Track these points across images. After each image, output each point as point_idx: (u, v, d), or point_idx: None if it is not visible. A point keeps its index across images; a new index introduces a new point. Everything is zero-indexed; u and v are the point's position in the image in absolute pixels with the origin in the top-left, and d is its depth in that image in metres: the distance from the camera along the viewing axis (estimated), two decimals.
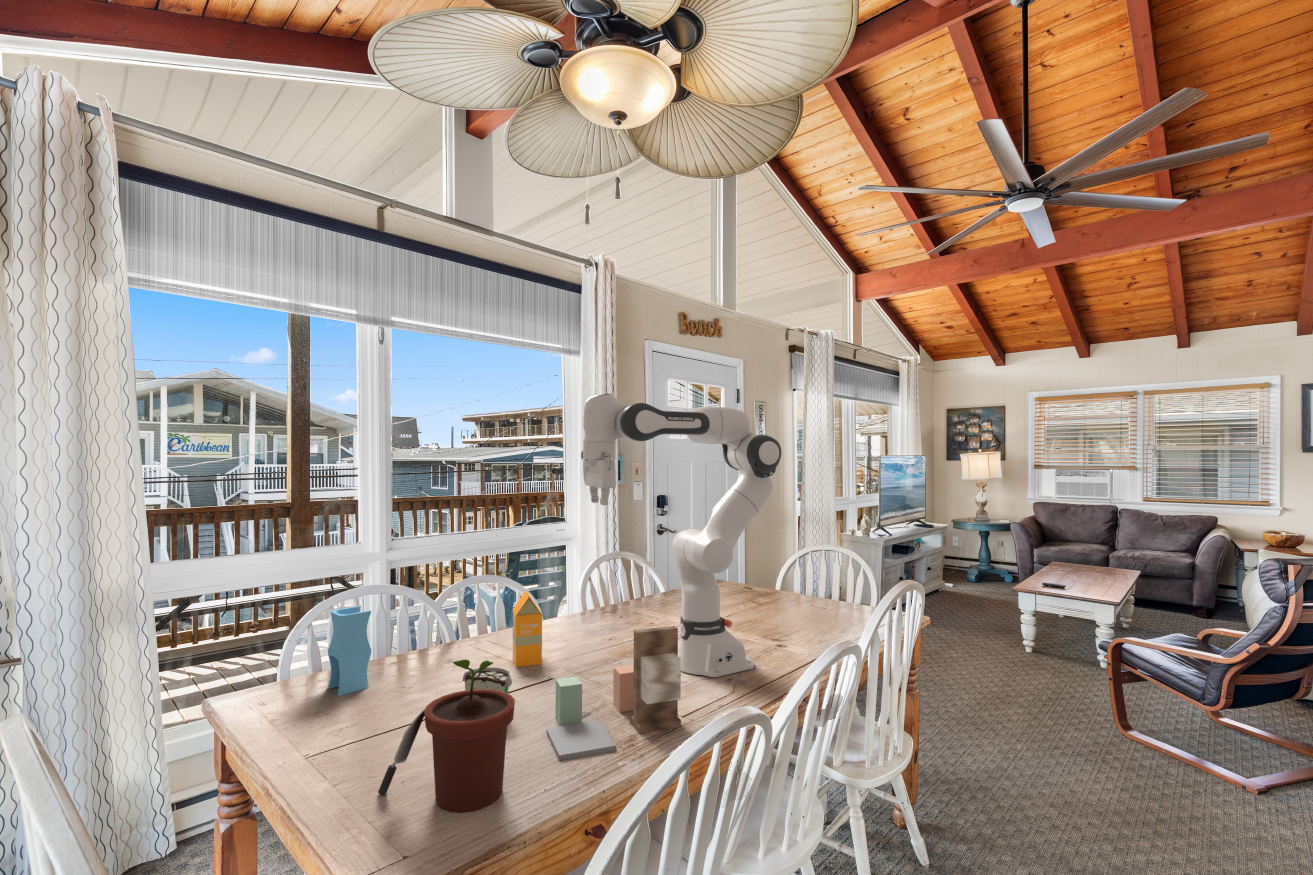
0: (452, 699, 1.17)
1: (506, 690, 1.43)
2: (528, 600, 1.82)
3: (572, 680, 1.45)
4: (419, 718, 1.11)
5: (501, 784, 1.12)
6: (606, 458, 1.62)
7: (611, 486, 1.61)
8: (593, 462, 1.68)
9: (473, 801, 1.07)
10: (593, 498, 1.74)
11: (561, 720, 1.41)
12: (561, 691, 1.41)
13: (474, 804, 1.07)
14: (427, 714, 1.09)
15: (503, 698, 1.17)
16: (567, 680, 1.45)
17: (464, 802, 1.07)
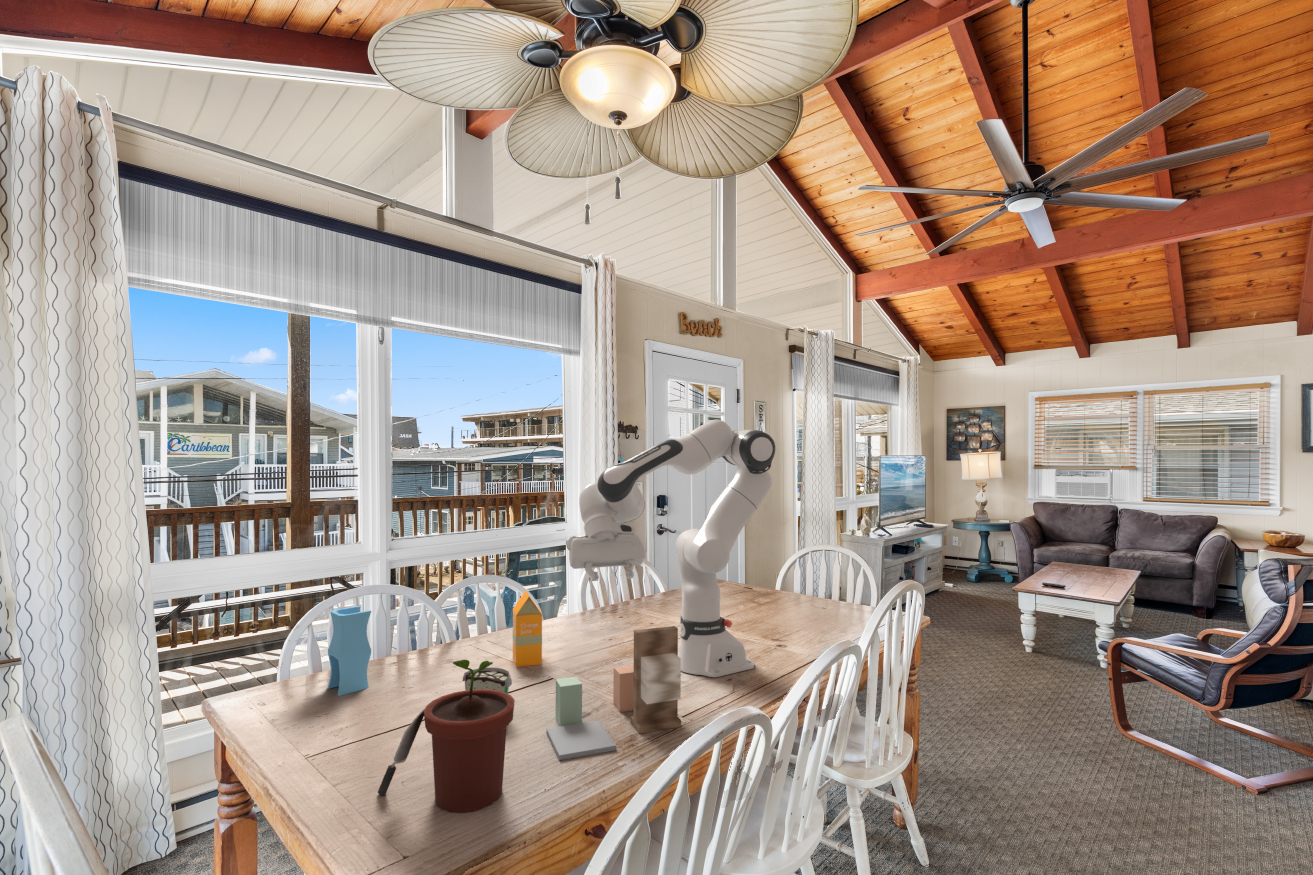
0: (452, 699, 1.17)
1: (506, 690, 1.43)
2: (528, 600, 1.82)
3: (572, 680, 1.45)
4: (419, 718, 1.11)
5: (501, 784, 1.12)
6: None
7: (572, 562, 1.59)
8: None
9: (472, 801, 1.07)
10: (626, 574, 1.63)
11: (561, 720, 1.41)
12: (561, 691, 1.41)
13: (474, 804, 1.07)
14: (426, 714, 1.09)
15: (503, 698, 1.17)
16: (567, 680, 1.45)
17: (464, 802, 1.07)
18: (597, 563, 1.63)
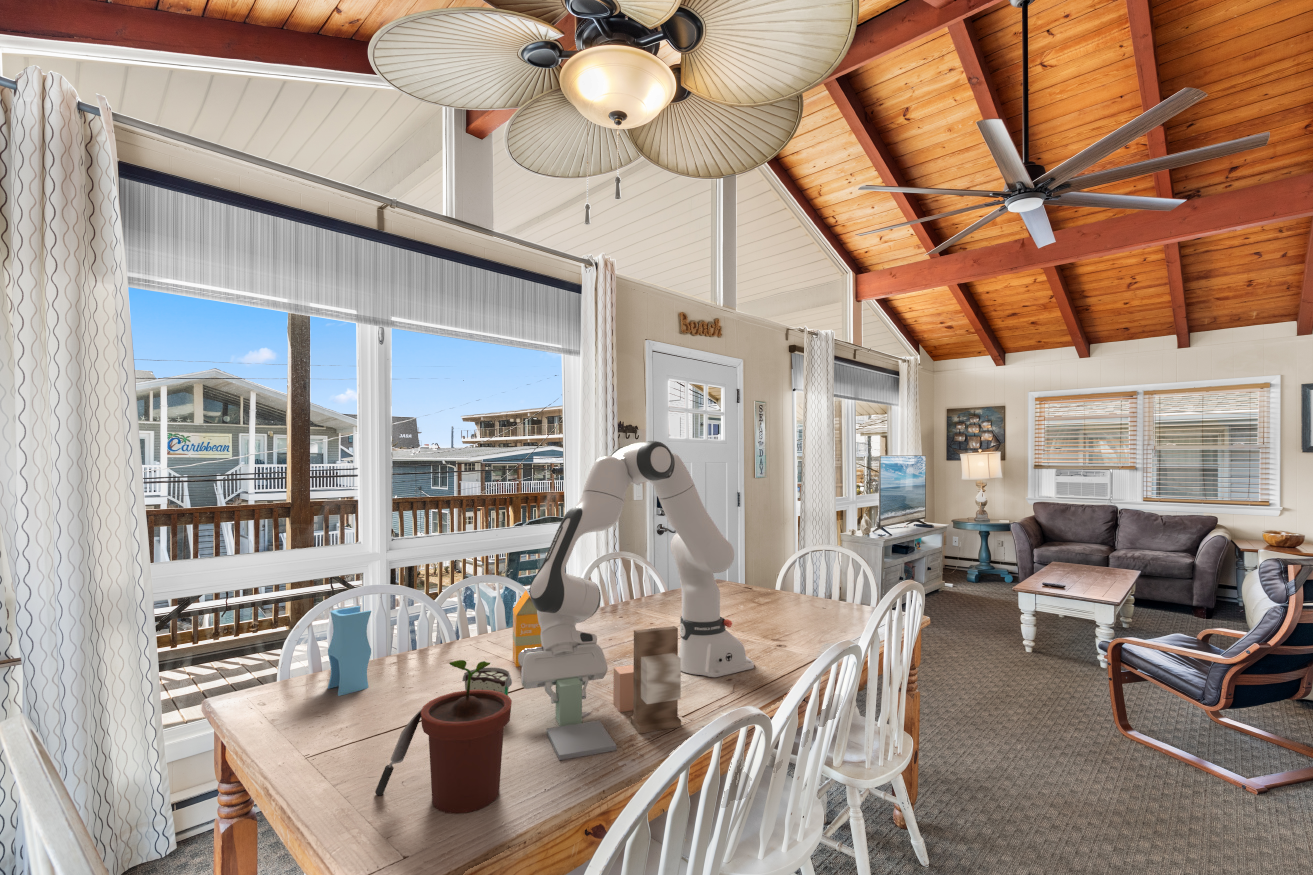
0: (449, 699, 1.17)
1: (506, 690, 1.43)
2: (528, 600, 1.82)
3: (572, 679, 1.45)
4: (416, 718, 1.11)
5: (498, 785, 1.12)
6: None
7: (524, 683, 1.43)
8: None
9: (468, 802, 1.07)
10: None
11: (561, 720, 1.41)
12: (561, 691, 1.41)
13: (470, 805, 1.07)
14: (423, 714, 1.09)
15: (500, 699, 1.17)
16: (568, 679, 1.45)
17: (460, 803, 1.07)
18: (552, 681, 1.46)
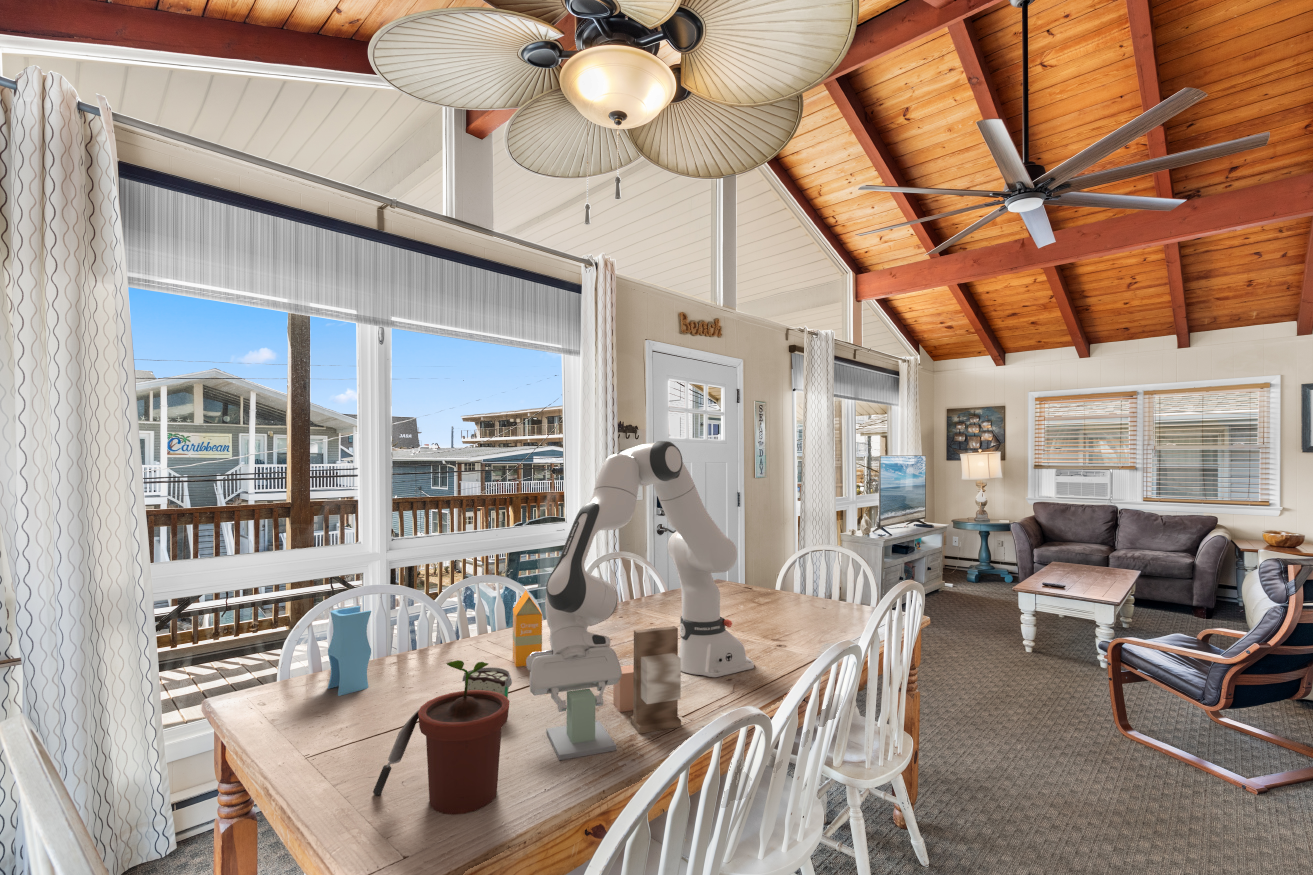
0: (447, 700, 1.17)
1: (506, 690, 1.43)
2: (528, 600, 1.82)
3: (585, 692, 1.34)
4: (414, 718, 1.11)
5: (495, 786, 1.12)
6: None
7: (532, 689, 1.33)
8: None
9: (465, 803, 1.07)
10: None
11: (573, 736, 1.30)
12: (573, 705, 1.30)
13: (467, 806, 1.07)
14: (420, 715, 1.09)
15: (498, 699, 1.17)
16: (580, 692, 1.34)
17: (457, 804, 1.06)
18: (563, 686, 1.36)
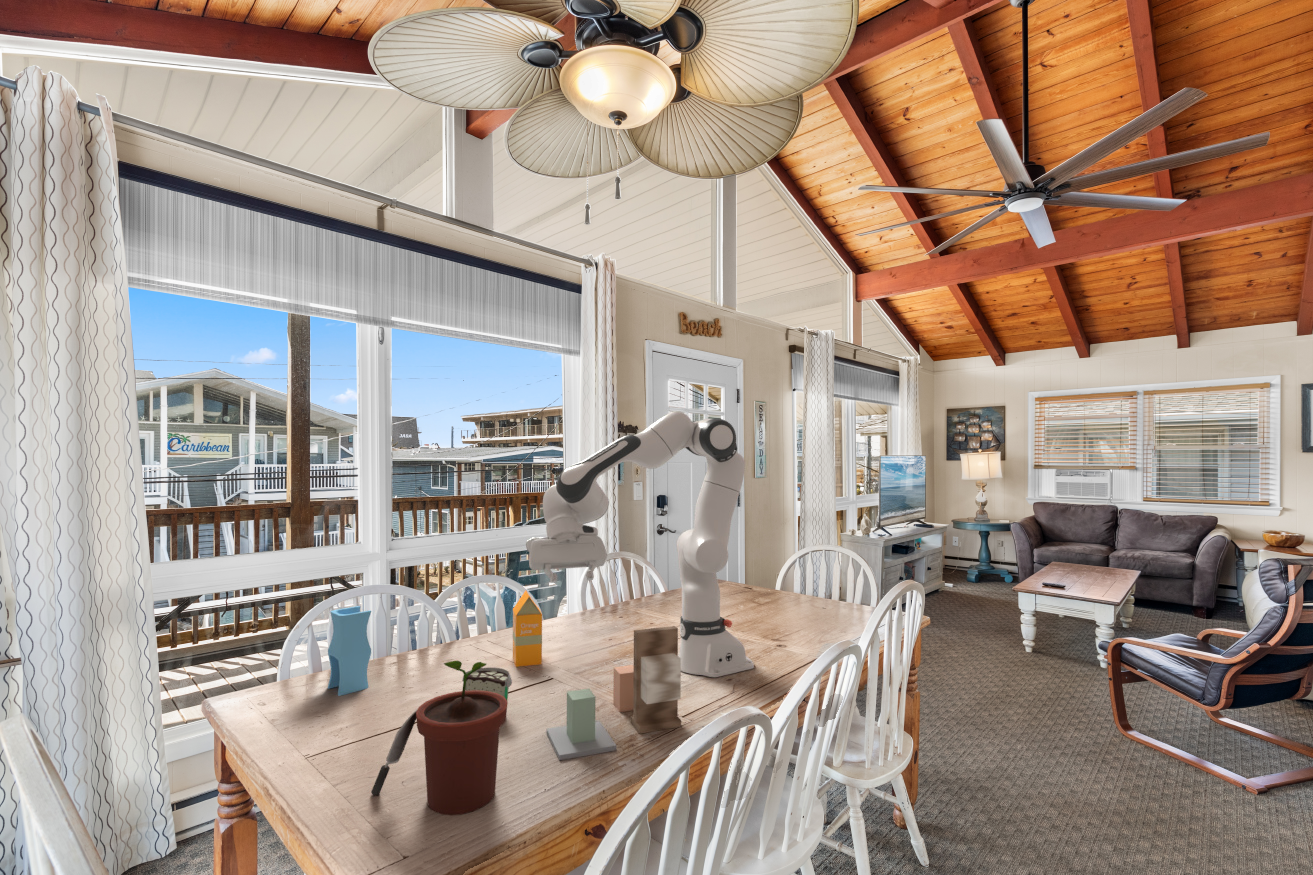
0: (446, 700, 1.17)
1: (506, 690, 1.43)
2: (528, 600, 1.82)
3: (585, 692, 1.34)
4: (412, 718, 1.11)
5: (493, 787, 1.11)
6: None
7: (531, 564, 1.58)
8: None
9: (463, 803, 1.06)
10: (586, 576, 1.61)
11: (573, 736, 1.30)
12: (573, 705, 1.30)
13: (464, 806, 1.07)
14: (418, 715, 1.09)
15: (496, 700, 1.17)
16: (580, 692, 1.34)
17: (454, 805, 1.06)
18: (557, 565, 1.61)
